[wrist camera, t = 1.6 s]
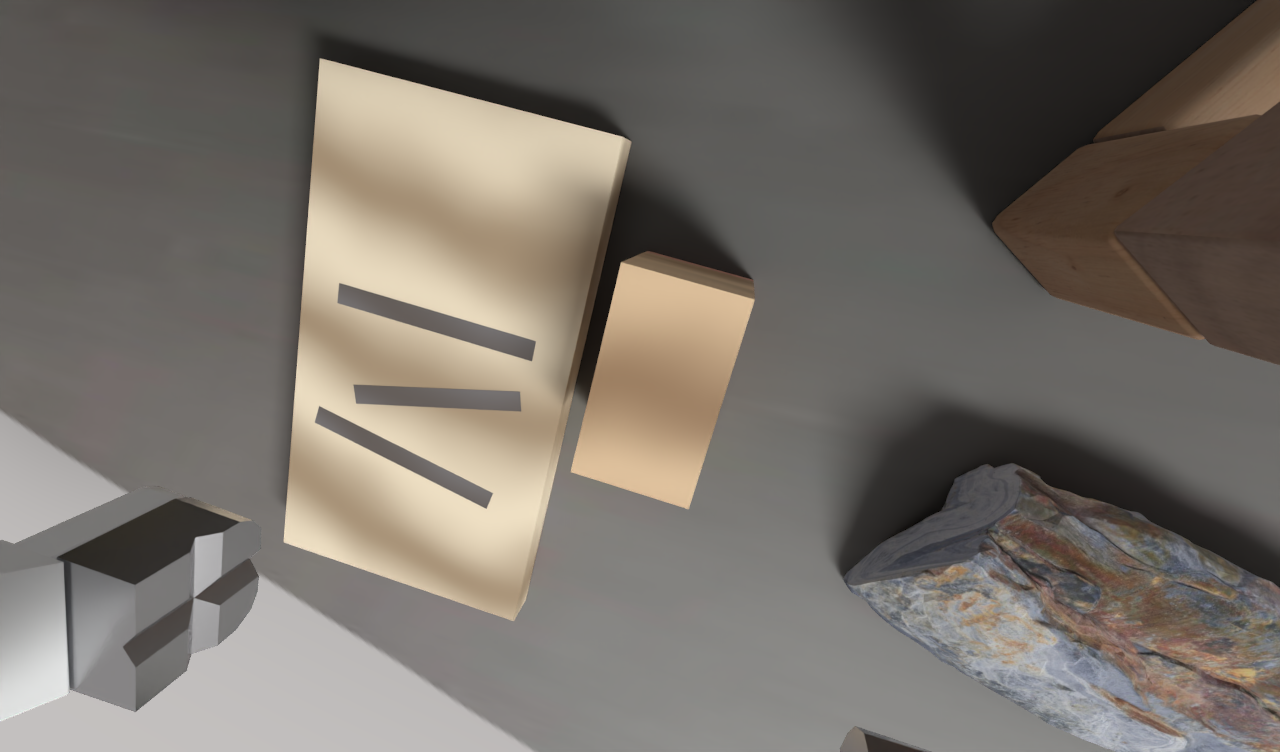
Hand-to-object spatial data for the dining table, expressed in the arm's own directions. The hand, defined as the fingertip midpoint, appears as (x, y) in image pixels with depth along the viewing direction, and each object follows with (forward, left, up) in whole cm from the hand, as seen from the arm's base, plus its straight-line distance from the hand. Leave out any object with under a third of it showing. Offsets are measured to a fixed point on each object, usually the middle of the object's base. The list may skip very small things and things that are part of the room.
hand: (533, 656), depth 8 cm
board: (+3, -9, -16) cm, 19 cm away
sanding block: (0, 0, -16) cm, 16 cm away
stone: (+5, +18, -16) cm, 25 cm away
